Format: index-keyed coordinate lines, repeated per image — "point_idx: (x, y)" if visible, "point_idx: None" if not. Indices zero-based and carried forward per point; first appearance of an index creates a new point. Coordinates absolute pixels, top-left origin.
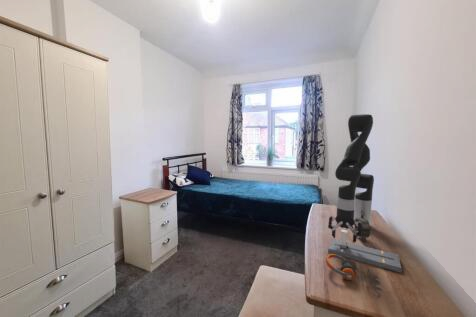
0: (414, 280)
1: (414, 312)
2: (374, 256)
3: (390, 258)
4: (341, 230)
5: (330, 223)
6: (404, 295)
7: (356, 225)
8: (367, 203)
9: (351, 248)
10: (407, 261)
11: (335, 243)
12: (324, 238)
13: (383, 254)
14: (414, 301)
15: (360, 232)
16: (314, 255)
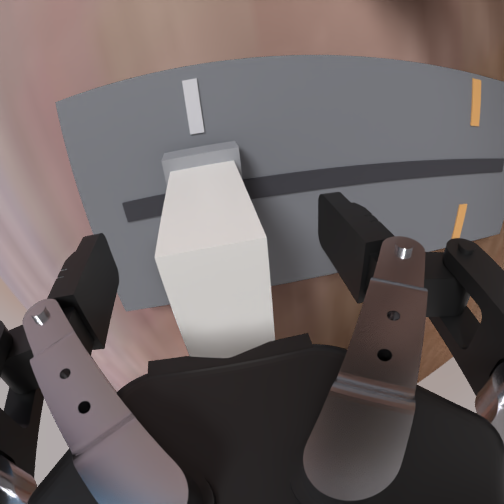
0: (498, 245)
1: (426, 376)
2: (431, 198)
3: (494, 167)
4: (172, 308)
5: (28, 445)
6: (435, 344)
7: (476, 402)
8: None
9: (284, 185)
10: None
11: (125, 185)
12: (3, 80)
13: (477, 130)
14: (446, 346)
15: (461, 326)
16: (103, 360)
